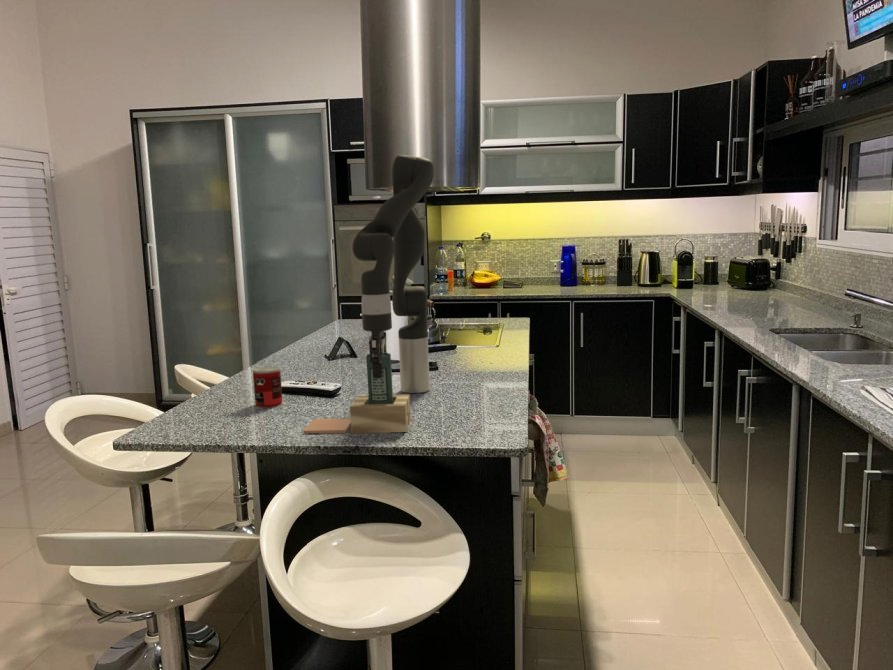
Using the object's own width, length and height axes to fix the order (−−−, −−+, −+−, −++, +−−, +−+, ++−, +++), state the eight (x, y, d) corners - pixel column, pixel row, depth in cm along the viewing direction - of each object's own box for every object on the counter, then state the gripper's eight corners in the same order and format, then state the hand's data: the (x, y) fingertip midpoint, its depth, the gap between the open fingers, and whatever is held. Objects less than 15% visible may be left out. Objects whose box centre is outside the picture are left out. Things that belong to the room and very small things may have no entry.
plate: (313, 422, 192) (313, 419, 192) (353, 421, 192) (353, 418, 192) (303, 433, 182) (303, 430, 181) (345, 433, 181) (345, 430, 181)
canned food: (254, 403, 216) (251, 368, 214) (280, 400, 219) (278, 365, 217) (256, 409, 209) (254, 372, 207) (284, 405, 212) (281, 369, 210)
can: (394, 407, 188) (391, 352, 186) (391, 413, 182) (388, 356, 180) (371, 408, 189) (368, 353, 186) (368, 414, 183) (365, 357, 180)
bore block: (359, 420, 192) (358, 395, 191) (410, 419, 192) (409, 394, 190) (351, 433, 180) (349, 406, 179) (406, 432, 180) (404, 405, 179)
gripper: (387, 314, 174) (390, 381, 177) (394, 307, 188) (397, 369, 191) (357, 315, 175) (360, 381, 177) (366, 308, 189) (369, 369, 191)
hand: (379, 375), depth 184 cm, fingers closed on can, 6 cm apart
